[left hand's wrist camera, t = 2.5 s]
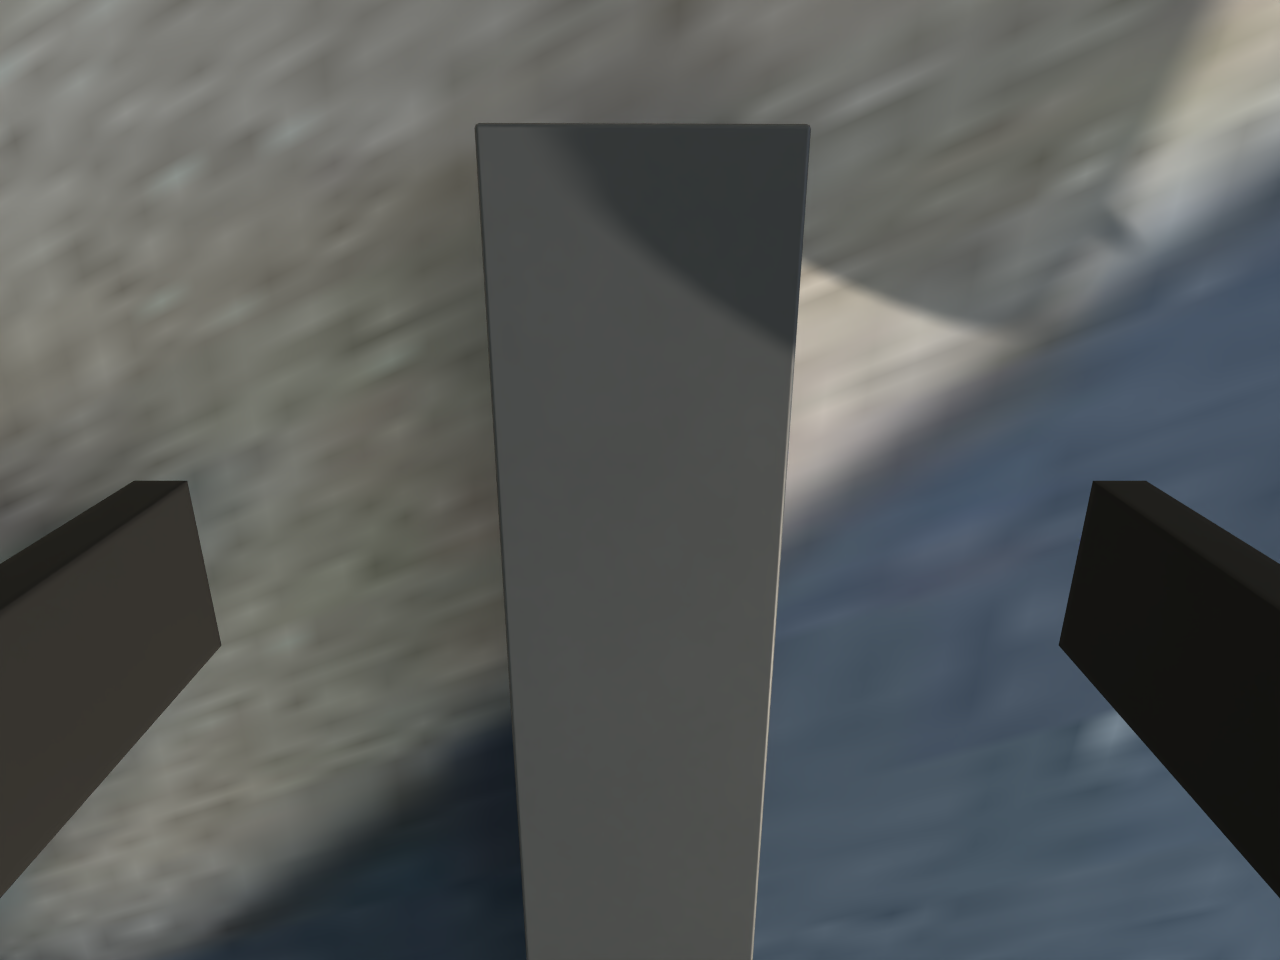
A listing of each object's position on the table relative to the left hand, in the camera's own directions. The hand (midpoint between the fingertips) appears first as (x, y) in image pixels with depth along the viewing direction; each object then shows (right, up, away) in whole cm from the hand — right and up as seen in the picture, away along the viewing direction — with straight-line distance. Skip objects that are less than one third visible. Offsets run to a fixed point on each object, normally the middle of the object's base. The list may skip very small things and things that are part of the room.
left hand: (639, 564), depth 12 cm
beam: (0, -21, +22) cm, 30 cm away
